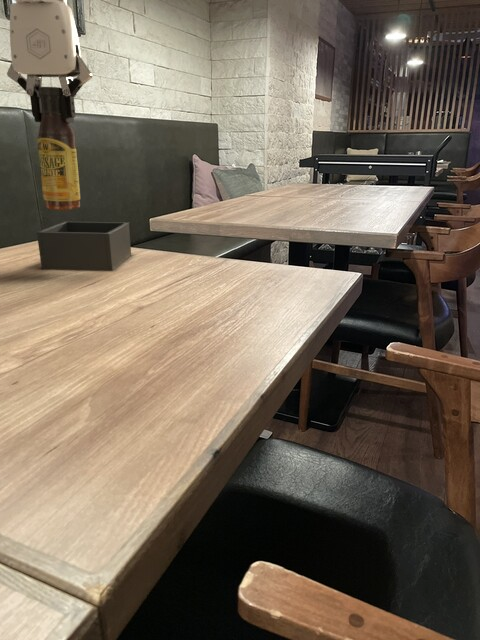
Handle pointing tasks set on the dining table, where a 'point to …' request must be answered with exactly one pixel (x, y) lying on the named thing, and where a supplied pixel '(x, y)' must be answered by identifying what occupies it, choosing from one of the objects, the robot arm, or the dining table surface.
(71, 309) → the dining table surface
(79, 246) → the tub
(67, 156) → the sauce bottle
